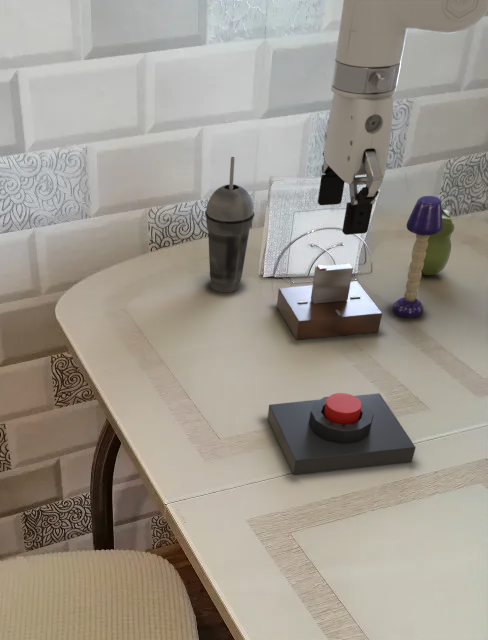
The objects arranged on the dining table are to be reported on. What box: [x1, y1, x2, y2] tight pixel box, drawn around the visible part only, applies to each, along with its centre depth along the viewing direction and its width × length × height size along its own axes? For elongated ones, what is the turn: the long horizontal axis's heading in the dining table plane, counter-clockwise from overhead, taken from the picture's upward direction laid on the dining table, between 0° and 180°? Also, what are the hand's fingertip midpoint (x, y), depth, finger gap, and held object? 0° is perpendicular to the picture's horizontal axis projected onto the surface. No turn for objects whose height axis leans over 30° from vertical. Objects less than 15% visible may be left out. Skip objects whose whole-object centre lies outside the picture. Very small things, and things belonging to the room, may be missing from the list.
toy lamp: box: [392, 195, 443, 319], centre depth 112 cm, size 5×5×17 cm
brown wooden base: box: [276, 280, 383, 341], centre depth 115 cm, size 12×10×3 cm
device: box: [267, 392, 416, 476], centre depth 94 cm, size 14×11×4 cm
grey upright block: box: [311, 263, 354, 304], centre depth 113 cm, size 5×2×5 cm, turn 97°
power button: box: [324, 392, 362, 425], centre depth 92 cm, size 4×4×2 cm
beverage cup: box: [204, 156, 255, 293], centre depth 119 cm, size 7×7×20 cm
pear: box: [411, 209, 455, 276], centre depth 123 cm, size 6×5×10 cm
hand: (341, 218), depth 106 cm, fingers open, 9 cm apart
